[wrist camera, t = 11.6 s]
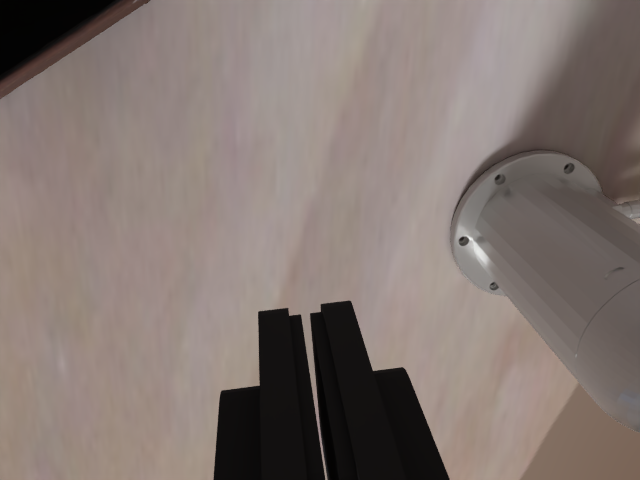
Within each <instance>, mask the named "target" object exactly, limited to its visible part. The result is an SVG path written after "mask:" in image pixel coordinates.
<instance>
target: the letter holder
mask: <svg viewBox="0 0 640 480" xmlns="http://www.w3.org/2000/svg"><path fill="white" fill-rule="evenodd" d="M149 1H150V0H0V99H1V98H2V97H4V96H6V95H7V94H9V93H10V92H12V91H13V90H14V89H16V88H17V87H19V86H20V85H22V84H23V83H25V82H26V81H28V80H29V79H31V78H33V77H34V76H35V75H37V74H39V73H41V72H42V71H44V70H45V69H47V68H48V67H49V66H51V65H53V64H54V63H56V62H57V61H59V60H60V59H62V58H63V57H65V56H66V55H68V54H69V53H71V52H72V51H74V50H76V49H77V48H78V47H80V46H81V45H83V44H85V43H86V42H88V41H89V40H91V39H92V38H94V37H95V36H96V35H98V34H100V33H101V32H103V31H104V30H106V29H107V28H109V27H110V26H112V25H113V24H115V23H116V22H118V21H119V20H120V19H122V18H124V17H125V16H127V15H128V14H130V13H131V12H133V11H134V10H136V9H137V8H138V7H140V6H142V5H143V4H146V3H148V2H149Z"/></svg>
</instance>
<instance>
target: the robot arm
mask: <svg viewBox="0 0 640 480" xmlns="http://www.w3.org/2000/svg"><path fill="white" fill-rule="evenodd" d="M496 176H497V177H496ZM495 177H496V178H495ZM635 218H640V200H635V201H629V202H624V203H622V204H617V203H616V202H614V201H612V200H611V199H609V198H607V197H606V196H604V195H603V192H602V188H601V186H600V184H599V182H598V180H597V178H596V176H595V175H594V174H593V173H592V172H591V171H590V169H589V168H588V167H586V166H585V165H584V164H582V163H581V162H579V161H578V160H576V159H574V158H572V157H570V156H568V155H566V154H563V153H559V152H555V151H544V150H536V151H530V152H523V153H520V154H517V155H514V156H511V157H509V158H506V159H505V160H503V161H501V162H499V163H497V164H495V165H494V166H492V167H491V168H490V169H488V170H487V171H486V172H484V173H483V174H482V175H481V176H480V177H479V178H478V179H477V180H476V181H475V182H474V183H473V184H472V185H471V186H470V187H469V189H468V190H467V192H466V193H465V195H464V196H463V197H462V199H461V200H460V203H459V205H458V207H457V209H456V211H455V214H454V217H453V221H452V225H451V234H450V243H451V250H452V254H453V257H454V259H455V262H456V264H457V266H458V267H459V269H460V270H461V272H462V273H463V275H464V276H465V277H466V278H467V279H468V280H469V281H470V282H471V283H472V284H473V285H475V286H476V287H478V288H479V289H481V290H483V291H485V292H488V293H490V294H495V295H500V296H507V297H508V298H509V300H510V301H511V302H512V303H513V304H514V305H515V307H516V308H517V309H518V310H519V311H520V313H521V314H522V315H523V316H524V317H525V319H526V320H527V321H528V322H529V323H530V325H531V326H532V327H533V328H534V329H535V331H536V332H537V333H538V334H539V335H540V337H541V338H542V339H543V340H544V341H545V343H546V344H547V345H548V346H549V347H550V349H551V350H552V351H553V352H554V353H555V355H556V356H557V357H558V358H559V359H560V361H561V362H562V363H563V364H564V365H565V366H566V368H567V369H568V370H569V371H570V372H571V374H572V375H573V376H574V377H575V378H576V380H577V381H578V382H579V383H580V384H581V386H582V387H583V388H584V389H585V390H586V392H587V393H588V394H589V395H590V396H591V397H592V399H593V400H594V401H595V402H596V403H597V404H598V405H599V406H600V407H601V408H602V409H603V410H604V411H605V412H606V413H607V414H608V415H609V416H611V417H612V418H613V419H615V420H616V421H617V422H619V423H621V424H622V425H624V426H626V427H628V428H630V429H632V430H634V431H636V432H639V433H640V224H638V223H636V222H635V221H633V220H631V219H635ZM310 319H311V330H312V342H313V353H314V364H315V375H316V386H317V398H318V409H319V420H320V430H321V438H322V445H323V452H324V459H325V465H326V472H327V478H328V480H450V479H449V477H448V474H447V472H446V469H445V467H444V464H443V462H442V459H441V457H440V454H439V452H438V449H437V446H436V444H435V441H434V439H433V436H432V434H431V431H430V429H429V426H428V424H427V421H426V419H425V416H424V414H423V411H422V409H421V406H420V404H419V401H418V399H417V396H416V393H415V391H414V388H413V386H412V383H411V381H410V378H409V376H408V374H407V372H406V370H405V369H404V368H403V367H401V368H394V369H386V370H378V371H373V370H372V367H371V364H370V360H369V357H368V354H367V351H366V348H365V344H364V341H363V338H362V335H361V331H360V328H359V325H358V322H357V318H356V315H355V312H354V309H353V306H352V303H351V301H343V302H334V303H326V304H321V312H318V313H310ZM258 325H259V374H260V386H254V387H246V388H239V389H231V390H223V391H221V394H220V401H219V415H218V428H217V441H216V454H215V467H214V480H325V475H324V468H323V461H322V454H321V447H320V441H319V434H318V427H317V420H316V414H315V407H314V400H313V393H312V387H311V380H310V373H309V366H308V359H307V353H306V346H305V339H304V332H303V326H302V319H301V315H293V316H289V311H288V308H284V309H275V310H267V311H259V312H258Z"/></svg>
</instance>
